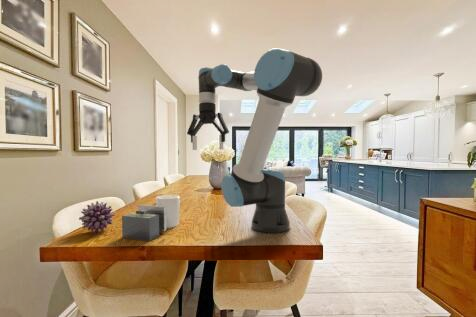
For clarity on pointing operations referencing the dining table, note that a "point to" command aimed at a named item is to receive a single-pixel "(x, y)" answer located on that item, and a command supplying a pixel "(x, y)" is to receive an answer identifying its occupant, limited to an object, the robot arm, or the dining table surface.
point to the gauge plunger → (154, 213)
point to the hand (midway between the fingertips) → (207, 149)
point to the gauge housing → (140, 226)
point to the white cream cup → (170, 208)
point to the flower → (96, 216)
